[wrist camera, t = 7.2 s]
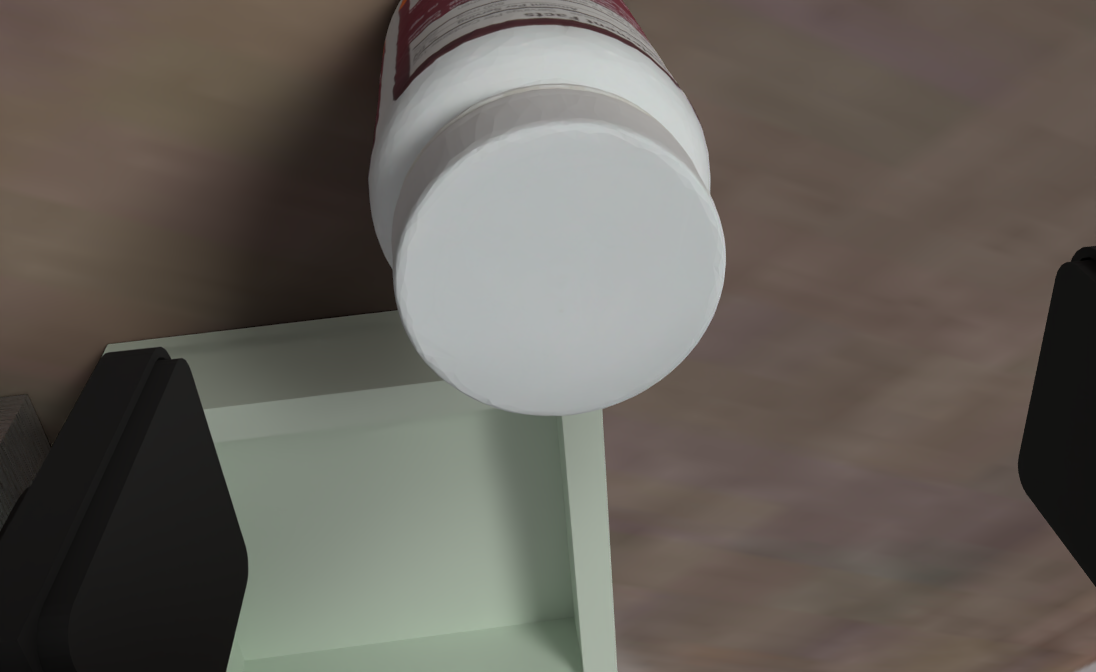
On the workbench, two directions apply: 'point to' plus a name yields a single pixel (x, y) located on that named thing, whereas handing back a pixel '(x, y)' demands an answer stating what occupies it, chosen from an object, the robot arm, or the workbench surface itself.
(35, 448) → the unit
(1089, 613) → the workbench surface
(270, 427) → the tray
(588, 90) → the pill bottle
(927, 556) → the workbench surface
